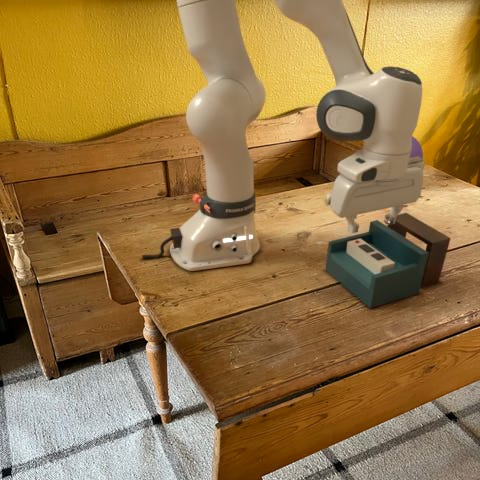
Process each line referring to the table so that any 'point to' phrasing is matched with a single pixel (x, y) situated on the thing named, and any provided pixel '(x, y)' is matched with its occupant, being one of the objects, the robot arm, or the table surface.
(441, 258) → the brown wooden box
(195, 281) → the table surface
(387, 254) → the teal armchair
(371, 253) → the remote
